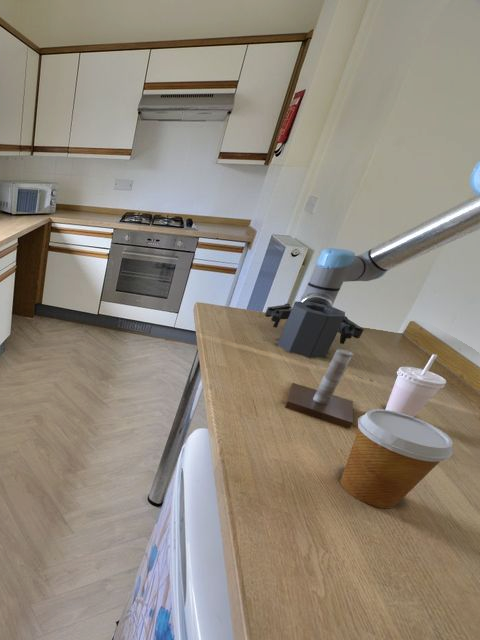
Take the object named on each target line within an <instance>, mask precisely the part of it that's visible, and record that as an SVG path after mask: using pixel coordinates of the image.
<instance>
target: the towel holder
mask: <svg viewBox="0 0 480 640" xmlns="http://www.w3.org/2000/svg"><path fill="white" fill-rule="evenodd" d="M353 356H354V353H353V352H352V351H349V350H347V349H341V348H338V349H336V350H335V352H334V355H333V357H332V358H331V361H330V363H329V365H328V367H327V369H326V371H325V373H324V375H323V377H322V379H321V382H320V383H319V385H318V388H317V389H314V388H311V387H308V386H305V385H301V384H298V383H295V382H291V384H290V387H289V390H288V394H287V397H286V401H285V404H284V408H285V409H289V410H291V411H294V412H298V413H300V414H302V415H305V416H309V417H313V418H315V419H318V420H320V421H324V422H327V423H329V424H333V425H336V426H338V427H342V428H345V429H348V430H350V429H351V428H352V426H353V424H354V401H353V400H351V399H347V398H344V397H341V396H337V395H334V393H335V391H336V390H337V387H338V385H339V384H340V382H341V379H342V377H343V375H344V373H345V371H346V369H347V367H348V365H349V364H350V361H351V360H352V359H353Z"/></svg>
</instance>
